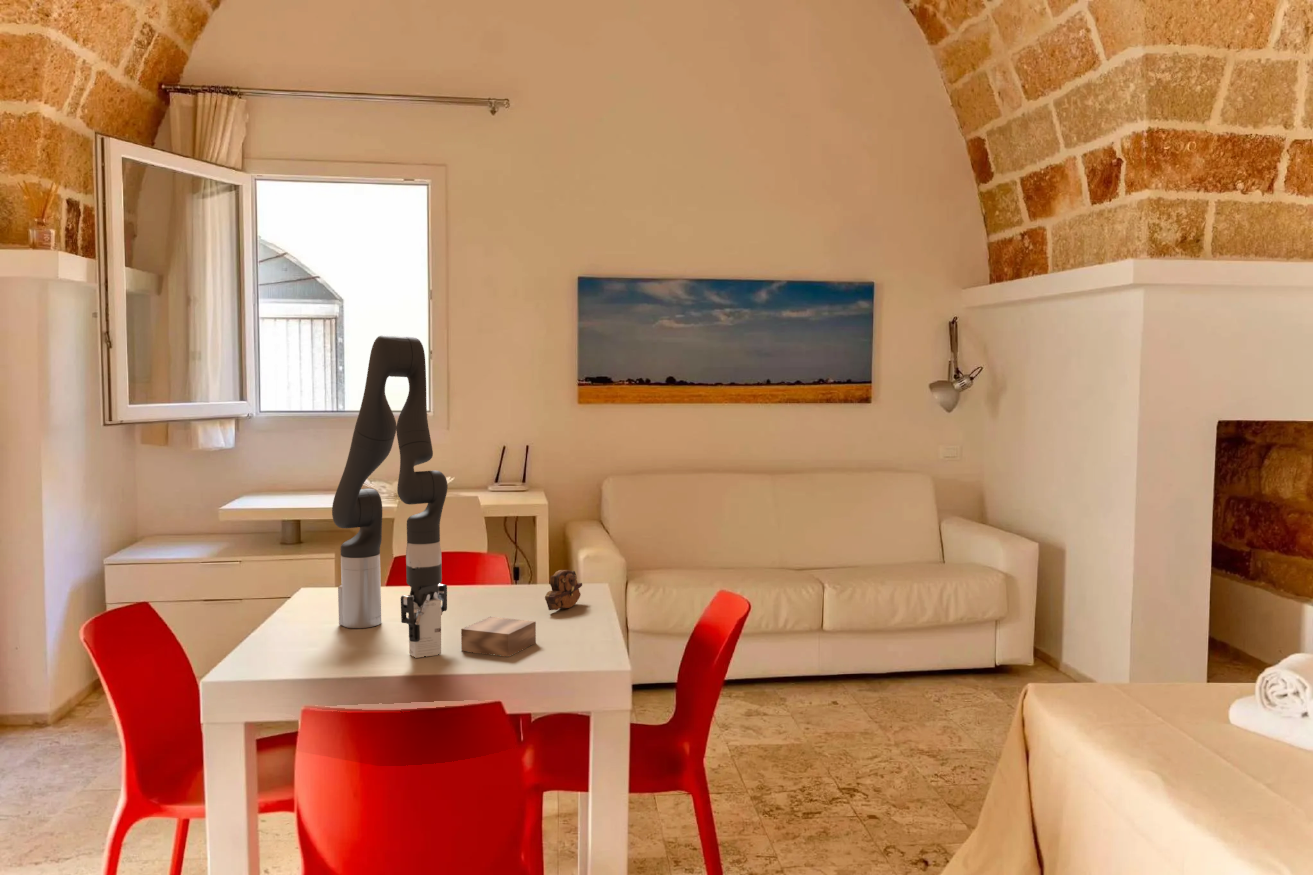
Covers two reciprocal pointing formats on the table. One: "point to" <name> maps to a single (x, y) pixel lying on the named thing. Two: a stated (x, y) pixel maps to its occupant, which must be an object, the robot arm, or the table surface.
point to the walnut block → (498, 636)
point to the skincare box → (428, 631)
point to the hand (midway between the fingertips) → (425, 636)
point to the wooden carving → (563, 590)
